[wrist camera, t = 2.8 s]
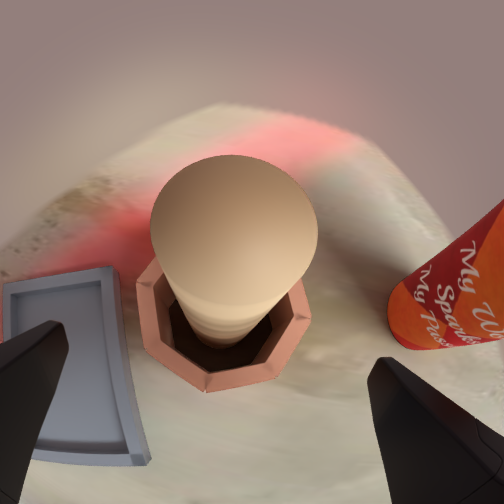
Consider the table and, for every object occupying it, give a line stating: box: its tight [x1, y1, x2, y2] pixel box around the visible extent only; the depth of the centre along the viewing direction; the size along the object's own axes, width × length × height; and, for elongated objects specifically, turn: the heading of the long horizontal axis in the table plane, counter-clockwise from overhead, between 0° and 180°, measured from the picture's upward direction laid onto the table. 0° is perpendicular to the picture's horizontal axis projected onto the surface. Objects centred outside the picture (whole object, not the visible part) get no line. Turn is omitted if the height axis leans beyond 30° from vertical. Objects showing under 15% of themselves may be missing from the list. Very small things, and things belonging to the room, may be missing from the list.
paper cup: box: [387, 199, 504, 350], centre depth 13 cm, size 8×8×14 cm
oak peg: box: [150, 155, 318, 349], centre depth 12 cm, size 4×4×12 cm
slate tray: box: [3, 266, 152, 466], centre depth 14 cm, size 12×9×2 cm
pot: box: [136, 256, 312, 393], centre depth 15 cm, size 8×8×5 cm
